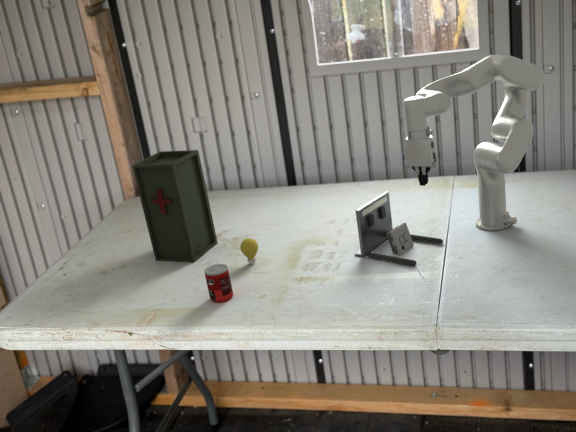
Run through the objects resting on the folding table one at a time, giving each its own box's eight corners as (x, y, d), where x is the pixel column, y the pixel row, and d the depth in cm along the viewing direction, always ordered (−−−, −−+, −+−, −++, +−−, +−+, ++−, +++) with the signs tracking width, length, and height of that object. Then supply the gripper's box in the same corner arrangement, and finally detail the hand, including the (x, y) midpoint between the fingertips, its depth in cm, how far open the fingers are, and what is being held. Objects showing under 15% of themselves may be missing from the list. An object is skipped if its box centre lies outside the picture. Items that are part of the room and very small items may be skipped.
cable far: (444, 243, 237) (443, 238, 237) (441, 245, 236) (441, 240, 235) (396, 235, 250) (395, 231, 250) (393, 237, 249) (393, 233, 248)
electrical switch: (400, 256, 233) (396, 232, 230) (388, 255, 237) (383, 231, 234) (414, 246, 239) (410, 222, 237) (402, 245, 243) (397, 221, 240)
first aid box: (217, 243, 272) (198, 150, 258) (194, 262, 257) (172, 164, 243) (180, 241, 280) (159, 151, 266) (155, 260, 265) (132, 165, 251)
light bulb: (263, 259, 249) (259, 235, 245) (257, 267, 243) (252, 242, 240) (247, 259, 251) (242, 235, 248) (240, 267, 245) (236, 242, 242)
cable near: (417, 265, 224) (417, 259, 224) (414, 267, 223) (414, 262, 222) (368, 256, 237) (368, 250, 237) (365, 258, 236) (365, 253, 235)
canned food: (210, 294, 228) (204, 266, 224) (233, 290, 228) (227, 262, 224) (210, 305, 221) (203, 275, 217) (233, 300, 221) (227, 271, 217)
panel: (395, 236, 250) (390, 191, 244) (366, 257, 236) (360, 211, 230) (384, 234, 253) (379, 190, 247) (354, 255, 240) (348, 209, 233)
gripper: (443, 130, 220) (448, 181, 227) (403, 130, 230) (409, 179, 236) (433, 137, 215) (438, 189, 222) (393, 136, 225) (399, 186, 231)
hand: (423, 184), depth 229 cm, fingers closed
